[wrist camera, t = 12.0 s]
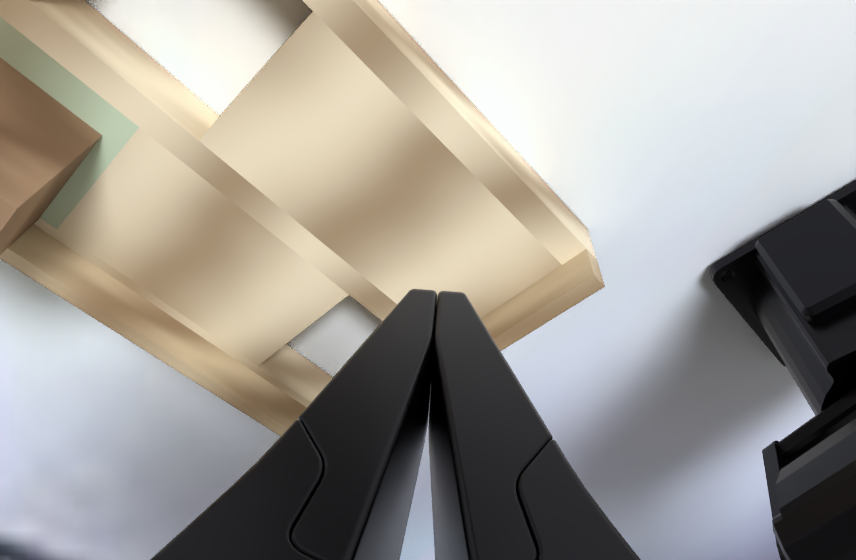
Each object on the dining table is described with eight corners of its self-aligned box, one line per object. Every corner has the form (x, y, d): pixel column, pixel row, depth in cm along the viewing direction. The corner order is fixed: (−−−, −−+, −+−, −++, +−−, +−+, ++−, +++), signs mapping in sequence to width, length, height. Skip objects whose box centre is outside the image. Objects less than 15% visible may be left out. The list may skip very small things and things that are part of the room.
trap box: (587, 228, 22) (604, 286, 20) (335, 399, 29) (321, 462, 26) (106, -295, 14) (20, -324, 12) (-99, 97, 21) (-187, 140, 18)
